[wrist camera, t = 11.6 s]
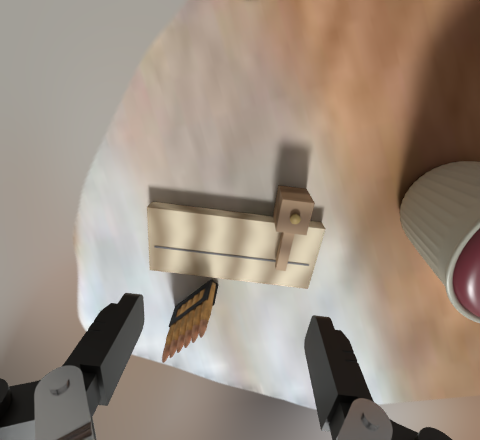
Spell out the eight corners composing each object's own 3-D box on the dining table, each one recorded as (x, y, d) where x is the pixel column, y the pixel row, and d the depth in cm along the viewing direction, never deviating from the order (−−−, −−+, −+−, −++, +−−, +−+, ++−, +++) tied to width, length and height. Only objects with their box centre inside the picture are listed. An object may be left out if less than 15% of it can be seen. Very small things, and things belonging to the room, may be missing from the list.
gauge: (278, 185, 41) (283, 200, 35) (306, 188, 41) (315, 205, 35) (265, 252, 46) (267, 275, 40) (290, 255, 46) (296, 279, 40)
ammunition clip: (211, 278, 49) (200, 330, 38) (218, 284, 50) (209, 337, 39) (174, 307, 53) (155, 362, 42) (181, 312, 53) (164, 367, 42)
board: (154, 262, 48) (149, 270, 46) (152, 201, 43) (146, 207, 40) (305, 280, 48) (308, 289, 46) (321, 222, 43) (325, 229, 41)
